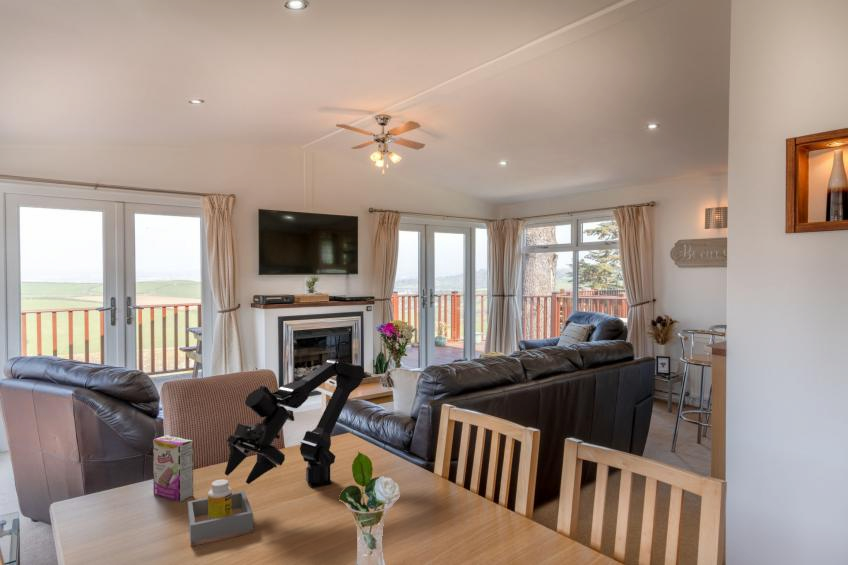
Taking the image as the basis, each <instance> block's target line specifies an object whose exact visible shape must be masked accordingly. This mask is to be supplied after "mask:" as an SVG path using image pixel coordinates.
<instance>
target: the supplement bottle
mask: <svg viewBox="0 0 848 565" xmlns="http://www.w3.org/2000/svg"><path fill="white" fill-rule="evenodd" d="M232 493H233V490H232V488H231V487H230V486H229V480H227V479H216V480H214V481H212V483H211V489H210V490H209V491H208V493H207V498H208V520H211V519H215V518H220V517H225V516H230V515H232Z"/></svg>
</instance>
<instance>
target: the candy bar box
mask: <svg viewBox="0 0 848 565" xmlns="http://www.w3.org/2000/svg"><path fill="white" fill-rule="evenodd" d="M152 459H153V461H152V462H153V467H152V468H153V470H152V471H153V472H152V473H153V495H154V496H158V497H163V498H165V499H168V500H172V501H176V502H179V503H181V502H183V501H185V500H188V499H190V498H191V497H193V496H194V440H192V439H188V438H183V437H178V436H173V435H169V434H165V435H162V436H160V437H159V436H158V437H156V438H154V439H153V440H152Z"/></svg>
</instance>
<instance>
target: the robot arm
mask: <svg viewBox="0 0 848 565" xmlns="http://www.w3.org/2000/svg"><path fill="white" fill-rule="evenodd" d="M364 370H365V369H364V368H363V366H361V365H359V364H354V363H353V364H352V363H347V362H345V361H342V360H341V359H334V358H329V359H327V360H326V361H325V363H323V364H321V365H320V366H319V367H317V368H315V369H314V370H313V371H311V372H310V373H308V374H307V375H305V376H304V377H302V378H300V379H298V380H295V381H291V382H288V383H286V384H284V385H282V386H280V387H279V388H278V389H277V390H276V391H273V392H271V391H270V390H269V387H267V386H265V385H260V386H259V387H258V388H257V389H254V390H253V391H252V392H251V393H248V395H247V396H246V398H245V405H246V406H247V407H248V408H249V409H250V410H251V411H252V412H253V413H255V414H256V415H257V416H258V417H260V418H263V419H262V420H261V421H260V422H256V423H253V424H252V425H247V424H244V423H241V422H240V423H239V422H237V425H236V427H235V430H234V434H231V435H229V437H228V438H227V439H226V443H227V447H229V450H230V453H229V457H228V461H227V465H226V468H225V471H224V475H226V476H229V475H230V474H231V473H233V472H234V471H235V470H236V468H238V466H239V465H240V464H242V462H243V461H245V459H246V458H247V457H248V455H247V454H249V453H250V452H252V453H256V462H255V464H254V465H253V468H252V469H251V471H250V473H249V474H248V476H247V478H246V480H245V483H246V484H247V485H250V484H251V483H253V482H254V481H256V480H257V479H258V478H260V477H261V476H263V475H264V474H266V473H267V472H268V471H270V470H272V469H274V468H276V469H277V467H278V466H279V467H281V466H282V465H283V463H284V462H285V460H286V455H285V454H284V453H283V452H282V451H281V450H280V449H278V447H276V446H273V445H272V444H273V443H274V441H275V440H280V437H281V436H280V435H279V433H280V431H281V430H282V428H283V427H284V426H285V424H286V423H287V421H291V422H294V421H295V415H294V411H293V410H291V409H298V408H300V407H301V406H302V405H304V403H305V402H306V401H307V400H309V399H308V398H309V396H310V394H311V393H312V392H313V391H315V390H316V389H317V388H319V387H320V386H321V385H323V384H325V383H326V382H327V381H328V380H329V379H332V377H334V376H335V375H336V377H335V384H336V386H335V389H334V390H333V393H332V395H331V397H330V399H329V401H328V403H327V405H326V406H325V409H324V411H323V413H322V415H321V417H320V419H319V421H318V423H317V425H316V427H315V428H314V429H313V430H312V431H310V430H306V432H305V434H304V436H303V438H302V440H301V441H300V446H299V452H300V455H301V456H302V458H303V461H304V462H307V467H306V468H305V481H306V482H307V484H308V485H309V486H310V488H317V487H322V486H327V485H333V480H331V466H332V464H335V459H336V455H335V454H334V453H333V452H332V451H330V449H331V446H332V440H331V439H332V438H331V436H332V433H333V430H334V429H335V426H336V424H337V423H338V419H340V418H339V417H340V416H341V413H342V411H343V409H344V407H345V405H346V403H347V402H348V399H349V397H350V394H351V393H353V392H354V391H355V390H356V389H358V388H359V387H360V385H361V384H362V382H363V380H364V378H365V371H364ZM287 407H288V408H291V409H287Z"/></svg>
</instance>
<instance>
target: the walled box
mask: <svg viewBox="0 0 848 565" xmlns="http://www.w3.org/2000/svg"><path fill="white" fill-rule="evenodd" d="M248 499H249V498H248V496H247V495H246V491H245V490H241V491H237V492H232V515H230V516H225V517H220V518H215V519H211V520H208V497H206V498H205V497H204V498H199V499H194V500H188V501H187V524H188V532H189V533H188V536H189V541H190V542H189V544H190V547H195V546H199V545H203V544H208V543H213V542H219V541H221V540H226V539H231V538H235V537H239V536H243V535H248V534H252V533H254V513H253V512H254V511H253V510H252V507H251V504H250V502H249V500H248Z"/></svg>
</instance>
